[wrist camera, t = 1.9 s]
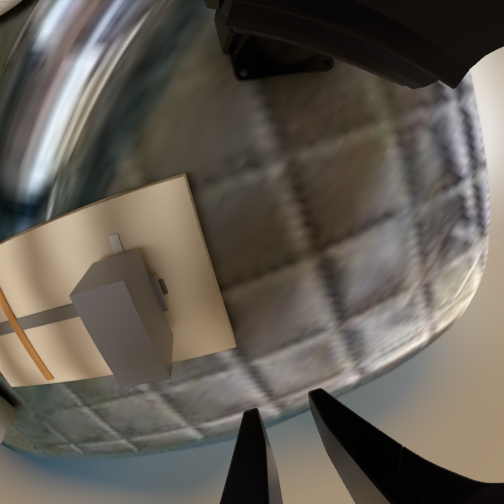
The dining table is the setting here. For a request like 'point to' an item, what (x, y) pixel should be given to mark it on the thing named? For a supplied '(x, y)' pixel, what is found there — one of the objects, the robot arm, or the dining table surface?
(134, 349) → the fader tab
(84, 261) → the fader console
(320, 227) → the dining table surface
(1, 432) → the ceramic mug
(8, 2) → the flower in vase
